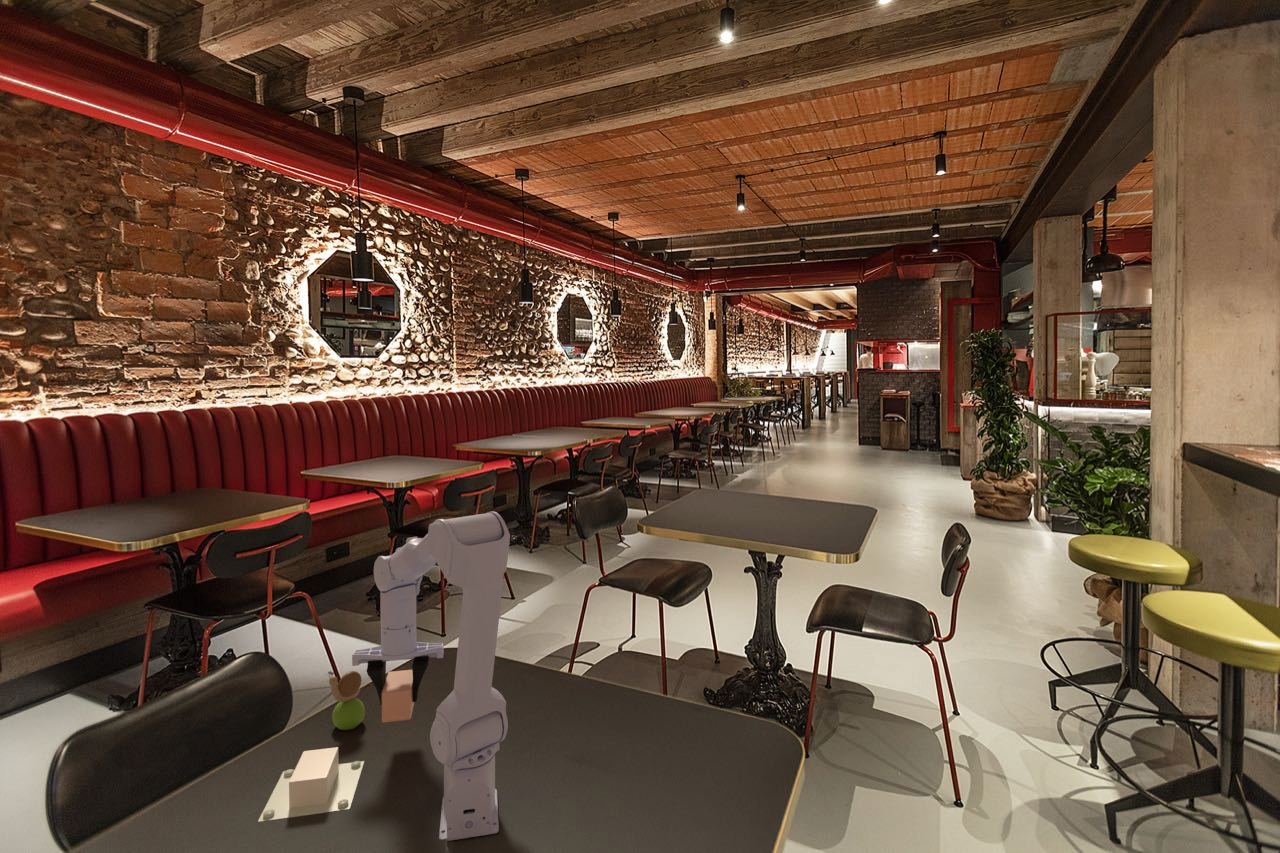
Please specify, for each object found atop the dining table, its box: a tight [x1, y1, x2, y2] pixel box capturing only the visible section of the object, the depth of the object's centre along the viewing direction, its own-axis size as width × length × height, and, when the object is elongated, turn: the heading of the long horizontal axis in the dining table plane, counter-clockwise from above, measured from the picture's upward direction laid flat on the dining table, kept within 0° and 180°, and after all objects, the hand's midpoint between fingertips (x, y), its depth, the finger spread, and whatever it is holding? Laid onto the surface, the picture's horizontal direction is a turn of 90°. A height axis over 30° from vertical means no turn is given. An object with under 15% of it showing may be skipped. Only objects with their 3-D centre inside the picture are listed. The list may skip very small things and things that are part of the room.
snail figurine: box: [327, 670, 366, 731], centre depth 113 cm, size 5×6×12 cm
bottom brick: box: [289, 746, 340, 809], centre depth 95 cm, size 8×5×4 cm, turn 14°
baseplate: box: [257, 760, 365, 823], centre depth 95 cm, size 12×12×1 cm
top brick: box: [381, 669, 415, 723], centre depth 107 cm, size 8×4×5 cm, turn 14°
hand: (399, 700), depth 107 cm, fingers closed on top brick, 4 cm apart
